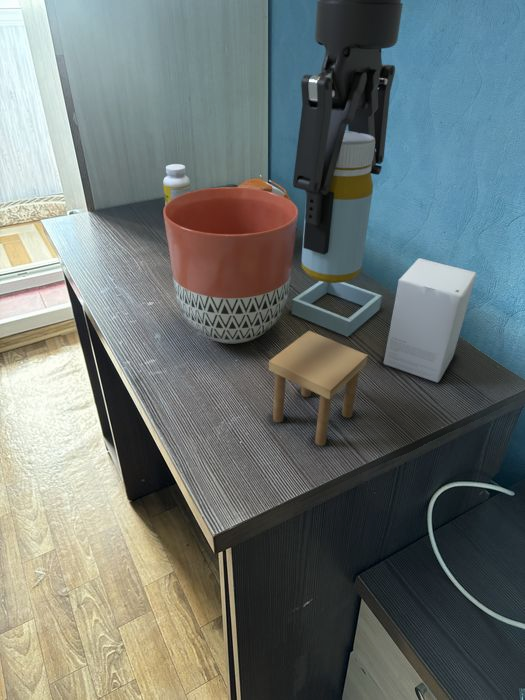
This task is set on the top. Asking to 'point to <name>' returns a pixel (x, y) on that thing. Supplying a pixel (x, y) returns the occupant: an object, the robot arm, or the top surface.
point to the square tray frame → (331, 320)
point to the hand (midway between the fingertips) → (334, 239)
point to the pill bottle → (175, 182)
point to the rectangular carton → (428, 318)
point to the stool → (317, 375)
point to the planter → (231, 259)
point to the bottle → (346, 213)
